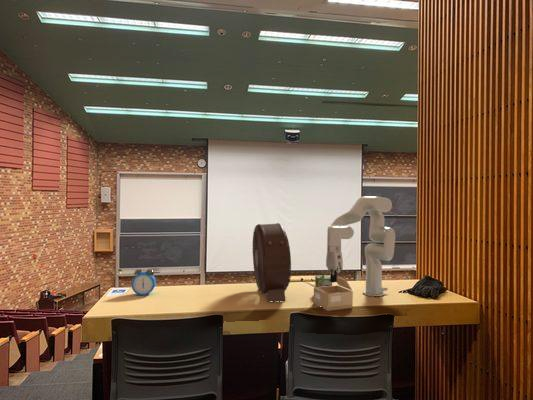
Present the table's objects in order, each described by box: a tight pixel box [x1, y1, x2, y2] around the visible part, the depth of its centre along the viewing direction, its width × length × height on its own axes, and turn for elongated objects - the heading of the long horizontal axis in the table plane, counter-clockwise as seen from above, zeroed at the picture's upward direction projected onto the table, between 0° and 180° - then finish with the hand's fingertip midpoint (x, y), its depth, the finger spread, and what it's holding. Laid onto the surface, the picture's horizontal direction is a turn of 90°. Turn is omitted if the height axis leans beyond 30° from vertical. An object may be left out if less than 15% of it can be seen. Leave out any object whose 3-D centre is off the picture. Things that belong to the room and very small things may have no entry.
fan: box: [252, 222, 292, 303], centre depth 213 cm, size 41×18×44 cm, turn 11°
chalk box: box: [314, 270, 333, 287], centre depth 212 cm, size 9×9×15 cm
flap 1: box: [305, 281, 327, 293], centre depth 188 cm, size 7×13×1 cm, turn 23°
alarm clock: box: [130, 268, 157, 296], centre depth 208 cm, size 13×6×15 cm, turn 98°
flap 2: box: [336, 276, 353, 291], centre depth 195 cm, size 7×13×1 cm
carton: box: [313, 284, 354, 312], centre depth 192 cm, size 16×15×9 cm
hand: (333, 281), depth 193 cm, fingers closed
